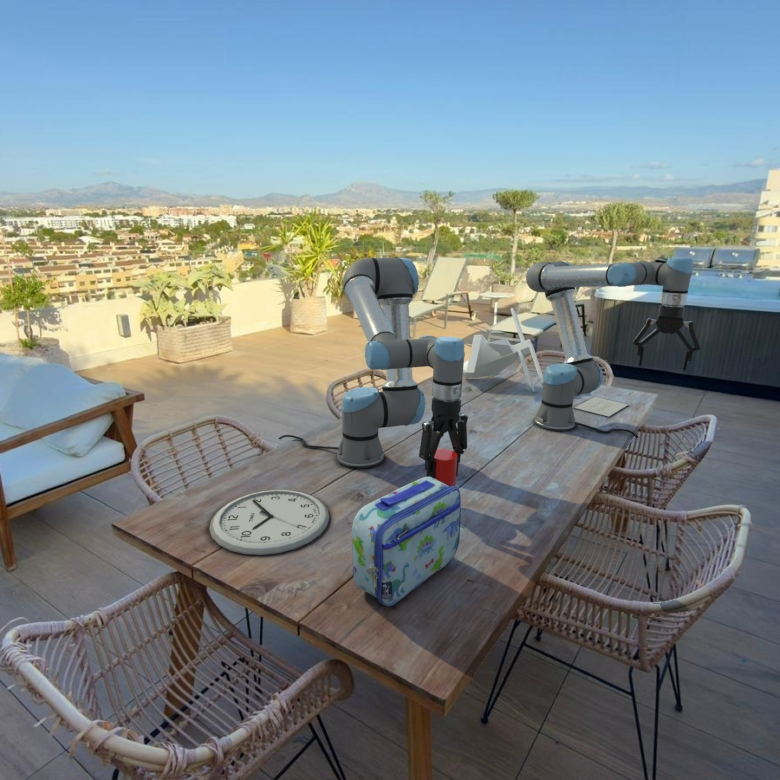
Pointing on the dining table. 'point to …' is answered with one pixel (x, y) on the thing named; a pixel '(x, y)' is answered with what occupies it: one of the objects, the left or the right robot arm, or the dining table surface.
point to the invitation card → (601, 406)
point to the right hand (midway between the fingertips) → (661, 367)
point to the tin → (446, 466)
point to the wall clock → (269, 522)
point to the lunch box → (405, 538)
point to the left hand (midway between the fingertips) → (442, 477)
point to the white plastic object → (500, 356)
